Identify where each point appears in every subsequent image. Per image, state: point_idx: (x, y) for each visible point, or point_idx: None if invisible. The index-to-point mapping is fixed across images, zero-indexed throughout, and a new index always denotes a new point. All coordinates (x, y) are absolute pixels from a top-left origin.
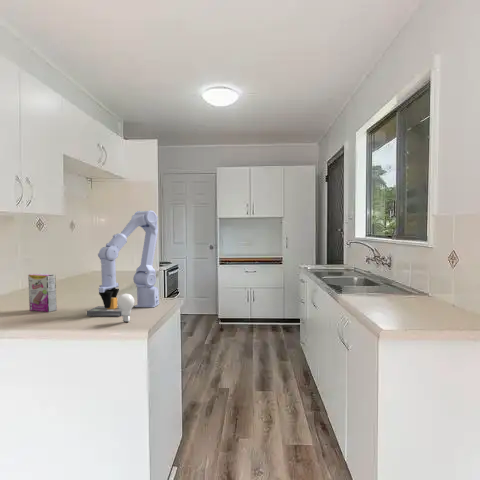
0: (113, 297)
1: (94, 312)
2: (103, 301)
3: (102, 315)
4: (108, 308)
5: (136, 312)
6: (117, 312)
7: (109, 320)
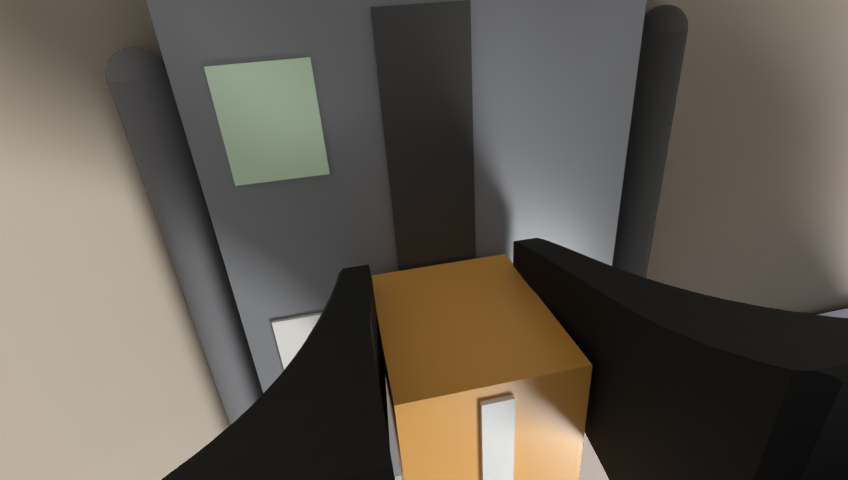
0: (576, 426)
1: (192, 121)
2: (315, 338)
3: (182, 284)
4: None
5: None
6: None
7: (47, 461)
